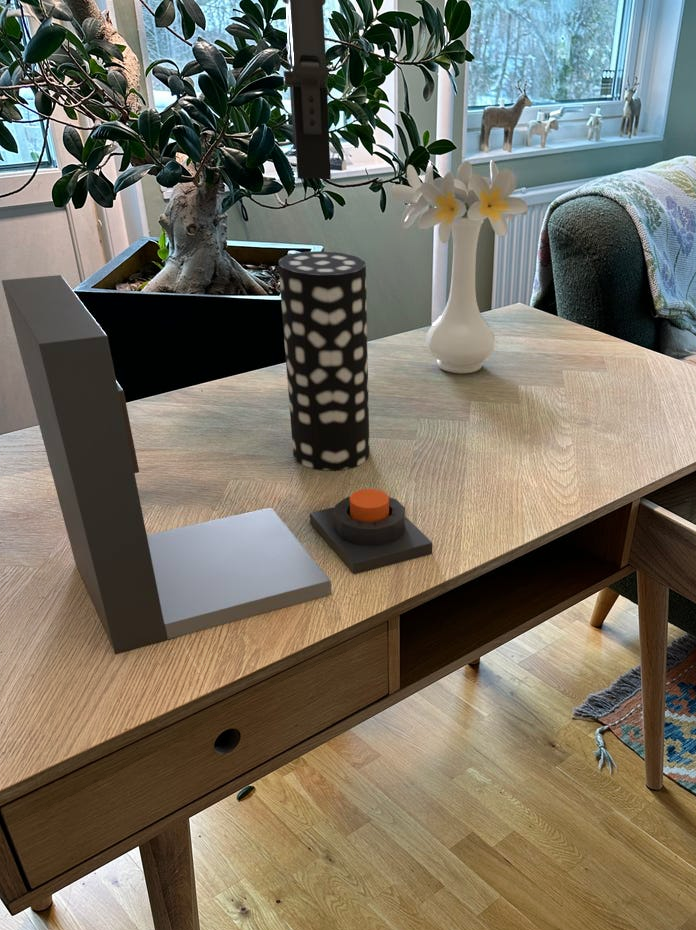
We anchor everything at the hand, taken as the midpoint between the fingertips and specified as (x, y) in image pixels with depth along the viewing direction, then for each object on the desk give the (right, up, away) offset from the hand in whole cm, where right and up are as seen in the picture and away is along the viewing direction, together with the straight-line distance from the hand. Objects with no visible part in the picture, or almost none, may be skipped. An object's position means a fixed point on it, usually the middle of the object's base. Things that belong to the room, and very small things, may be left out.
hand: (311, 163), depth 78 cm
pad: (+5, -33, +5) cm, 34 cm away
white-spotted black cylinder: (-1, -22, +19) cm, 29 cm away
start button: (+5, -31, +3) cm, 31 cm away
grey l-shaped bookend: (-9, -37, -2) cm, 38 cm away
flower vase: (+11, -5, +42) cm, 44 cm away
